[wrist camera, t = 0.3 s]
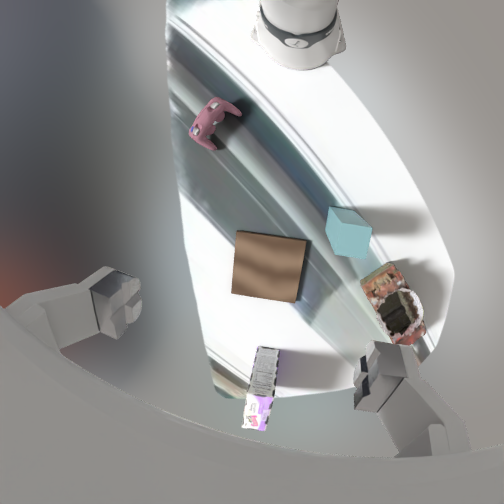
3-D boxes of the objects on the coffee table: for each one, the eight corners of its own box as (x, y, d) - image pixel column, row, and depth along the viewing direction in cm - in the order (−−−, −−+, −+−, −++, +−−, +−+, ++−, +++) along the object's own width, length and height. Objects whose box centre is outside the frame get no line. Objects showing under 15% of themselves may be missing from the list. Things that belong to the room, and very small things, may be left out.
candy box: (271, 385, 69) (265, 432, 54) (250, 382, 70) (240, 428, 54) (280, 349, 65) (275, 398, 49) (256, 345, 65) (246, 393, 50)
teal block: (329, 206, 52) (341, 222, 39) (353, 210, 51) (372, 228, 38) (325, 230, 54) (335, 254, 40) (349, 234, 53) (365, 259, 40)
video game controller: (231, 104, 49) (210, 90, 43) (245, 113, 48) (225, 98, 42) (203, 143, 53) (180, 133, 47) (216, 154, 51) (192, 144, 45)
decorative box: (407, 245, 52) (425, 261, 43) (427, 314, 56) (442, 337, 47) (354, 272, 56) (365, 294, 46) (381, 338, 60) (391, 363, 51)
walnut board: (237, 230, 56) (236, 231, 55) (306, 240, 55) (306, 241, 54) (232, 291, 61) (231, 293, 60) (294, 301, 60) (294, 303, 59)
